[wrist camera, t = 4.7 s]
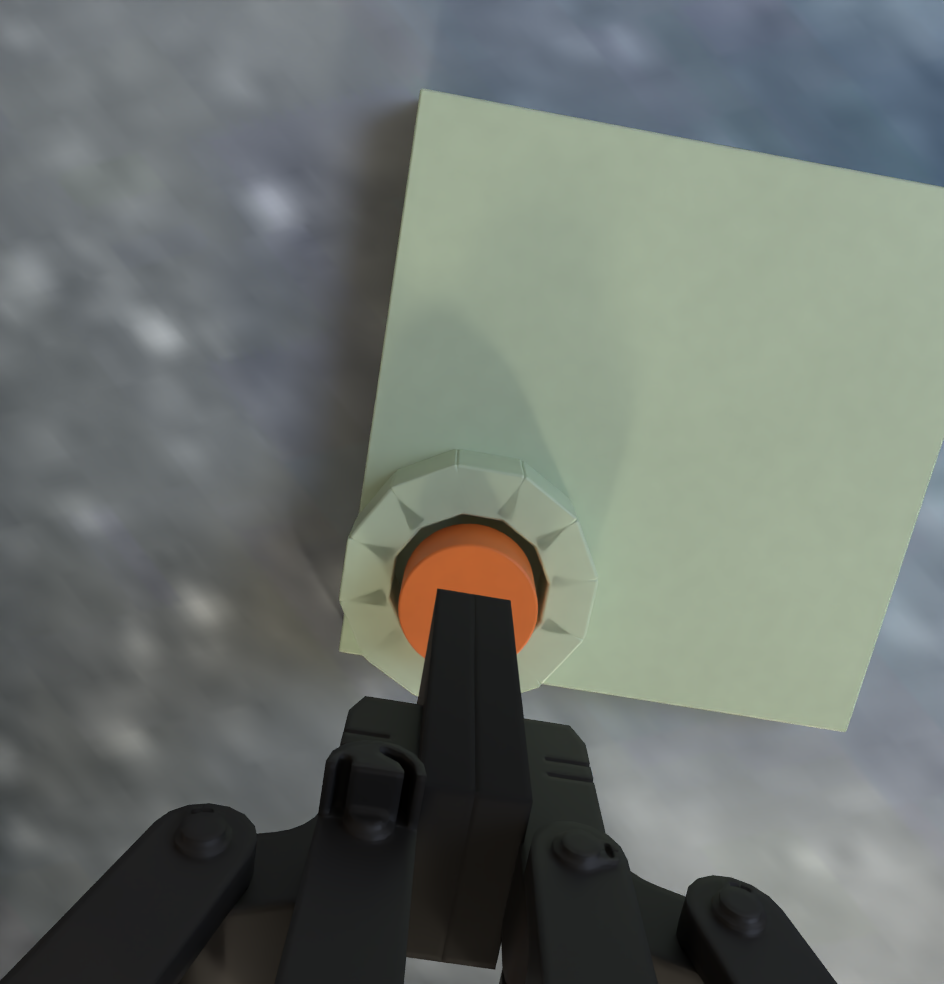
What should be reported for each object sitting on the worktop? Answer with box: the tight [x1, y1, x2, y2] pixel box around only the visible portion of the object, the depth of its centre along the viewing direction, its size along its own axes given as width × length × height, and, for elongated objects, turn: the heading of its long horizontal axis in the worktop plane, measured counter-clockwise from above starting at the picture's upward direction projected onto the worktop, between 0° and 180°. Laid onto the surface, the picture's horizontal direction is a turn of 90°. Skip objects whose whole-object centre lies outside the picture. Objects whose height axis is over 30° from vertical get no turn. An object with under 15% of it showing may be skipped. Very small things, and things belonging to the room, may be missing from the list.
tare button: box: [398, 524, 538, 659], centre depth 21 cm, size 3×3×2 cm
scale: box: [339, 89, 944, 732], centre depth 22 cm, size 14×14×3 cm
